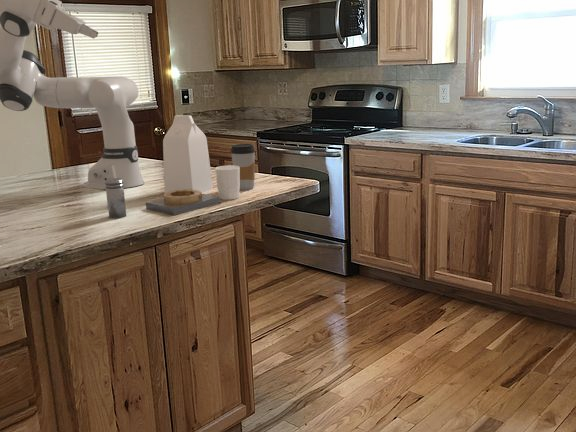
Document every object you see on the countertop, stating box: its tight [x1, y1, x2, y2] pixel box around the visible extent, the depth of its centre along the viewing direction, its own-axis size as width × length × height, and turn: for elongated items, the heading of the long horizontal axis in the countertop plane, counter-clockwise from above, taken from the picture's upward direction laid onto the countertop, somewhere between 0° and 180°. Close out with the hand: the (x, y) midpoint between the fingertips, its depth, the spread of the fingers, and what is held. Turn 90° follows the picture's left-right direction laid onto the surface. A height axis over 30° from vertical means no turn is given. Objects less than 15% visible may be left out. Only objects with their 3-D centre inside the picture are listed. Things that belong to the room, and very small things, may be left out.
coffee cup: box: [230, 143, 256, 191], centre depth 213 cm, size 8×8×15 cm
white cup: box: [214, 164, 241, 201], centre depth 200 cm, size 8×8×10 cm
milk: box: [162, 114, 214, 194], centre depth 210 cm, size 12×12×26 cm
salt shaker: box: [105, 178, 127, 220], centre depth 182 cm, size 5×5×11 cm
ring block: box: [145, 189, 221, 216], centre depth 192 cm, size 18×14×4 cm
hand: (96, 35), depth 183 cm, fingers open, 8 cm apart
